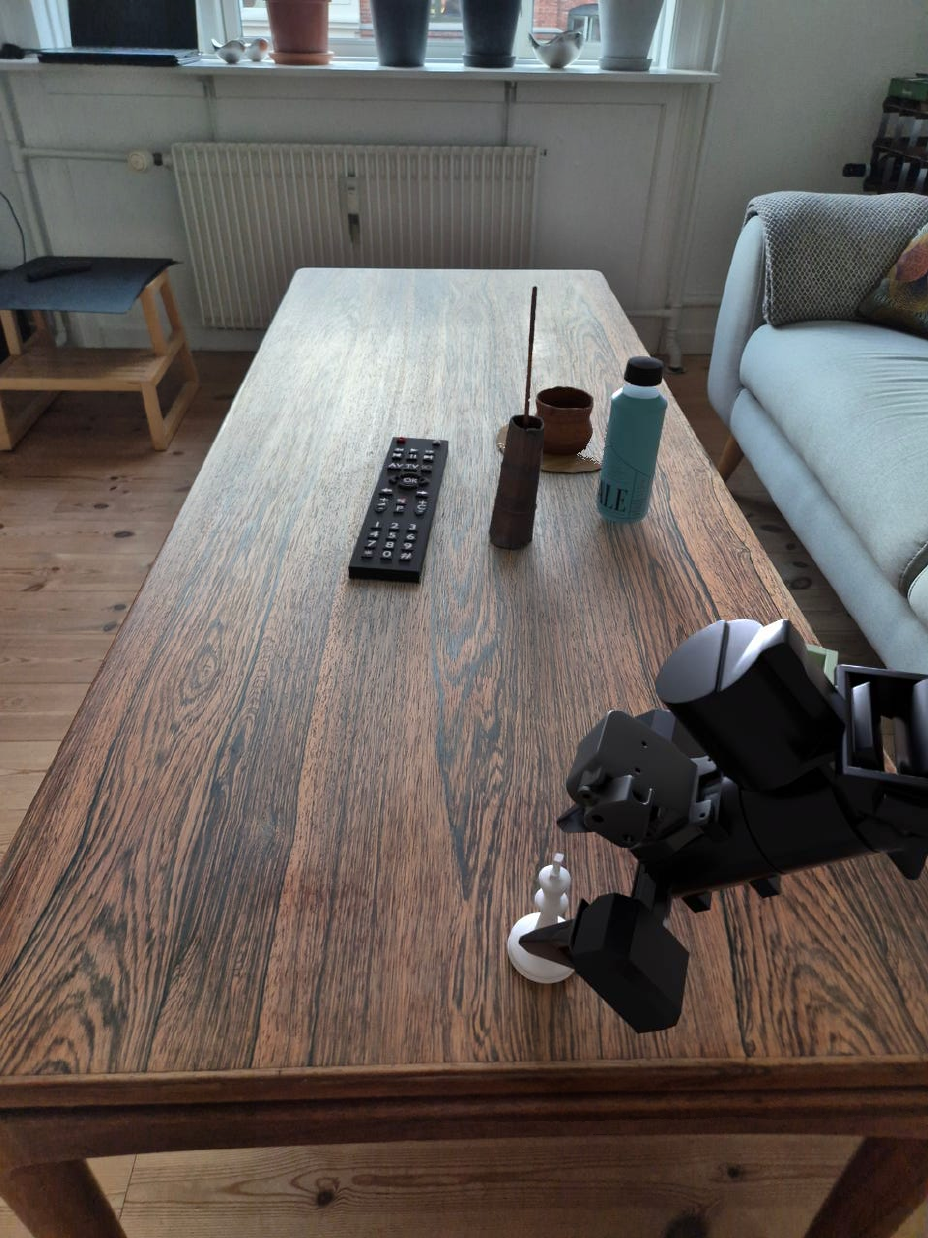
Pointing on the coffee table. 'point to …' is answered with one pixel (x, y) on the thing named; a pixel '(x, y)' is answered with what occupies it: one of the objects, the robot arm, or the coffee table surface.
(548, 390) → the ceramic pot
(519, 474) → the butter churn
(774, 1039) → the coffee table surface
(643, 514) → the beverage bottle
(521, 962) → the chess piece
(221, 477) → the coffee table surface
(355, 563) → the remote control
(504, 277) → the coffee table surface
